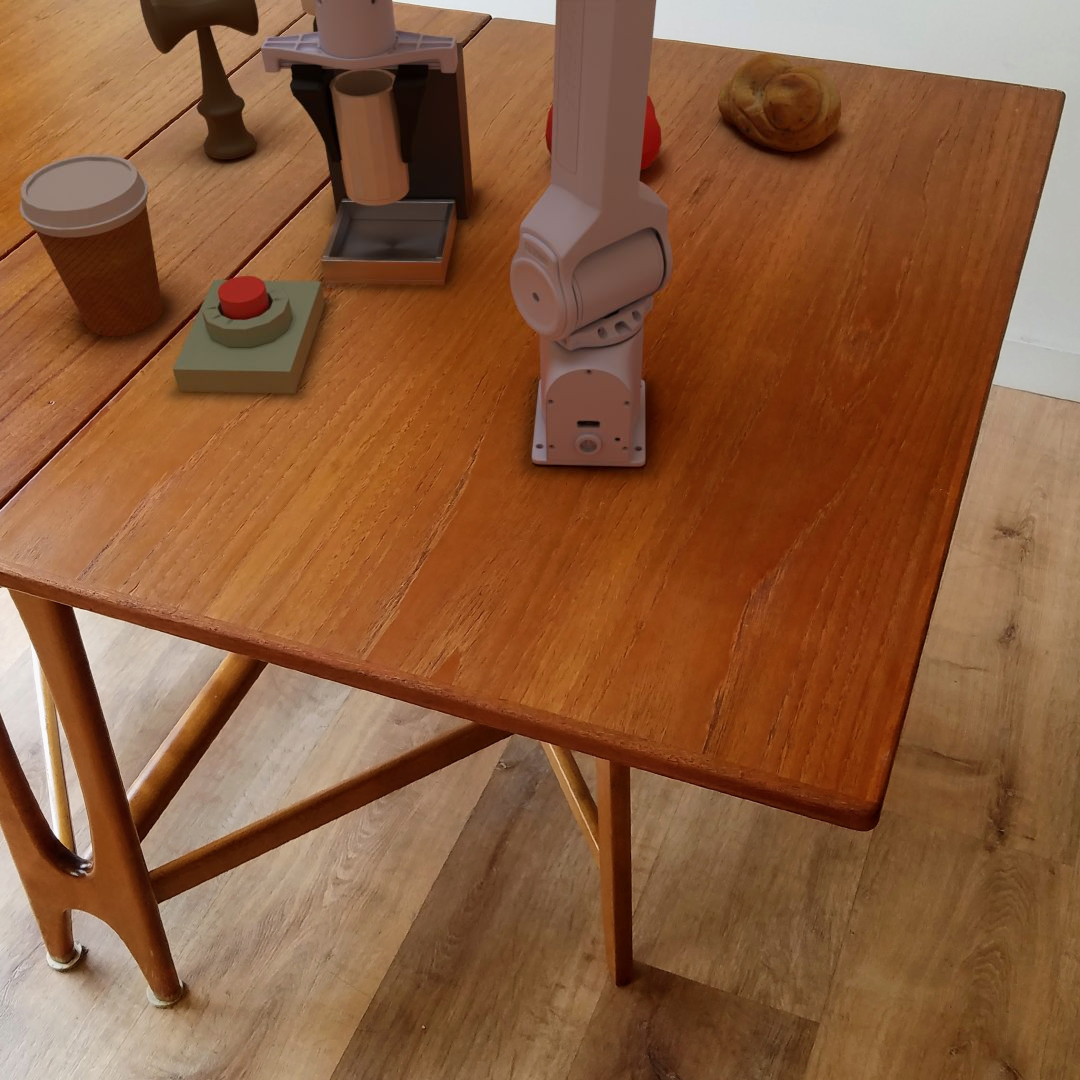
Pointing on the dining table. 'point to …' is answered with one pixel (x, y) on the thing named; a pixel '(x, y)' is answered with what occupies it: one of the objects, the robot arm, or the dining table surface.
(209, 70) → the kendama
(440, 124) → the coffee machine
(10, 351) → the dining table surface
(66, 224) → the disposable coffee cup
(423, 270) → the pan
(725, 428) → the dining table surface
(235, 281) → the button
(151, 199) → the dining table surface
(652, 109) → the tomato
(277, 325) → the switch block
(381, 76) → the beige hollow cylinder
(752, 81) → the bread roll
